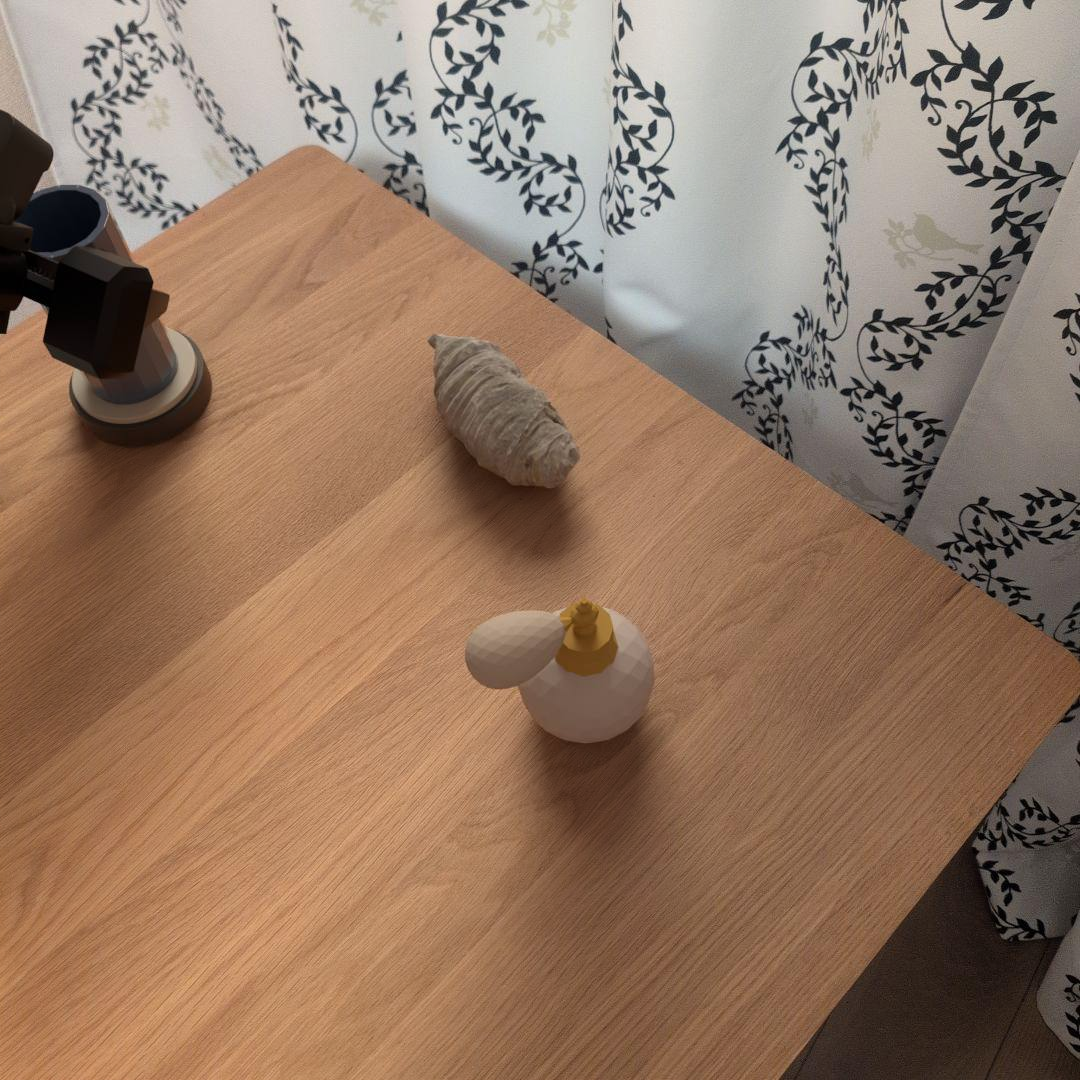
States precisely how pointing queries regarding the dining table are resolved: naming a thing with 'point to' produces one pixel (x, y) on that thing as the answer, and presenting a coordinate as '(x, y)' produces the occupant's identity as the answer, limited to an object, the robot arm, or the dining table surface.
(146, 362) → the cup
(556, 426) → the taro root
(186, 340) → the beige and brown disc
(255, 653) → the dining table surface
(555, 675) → the perfume bottle
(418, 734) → the dining table surface
